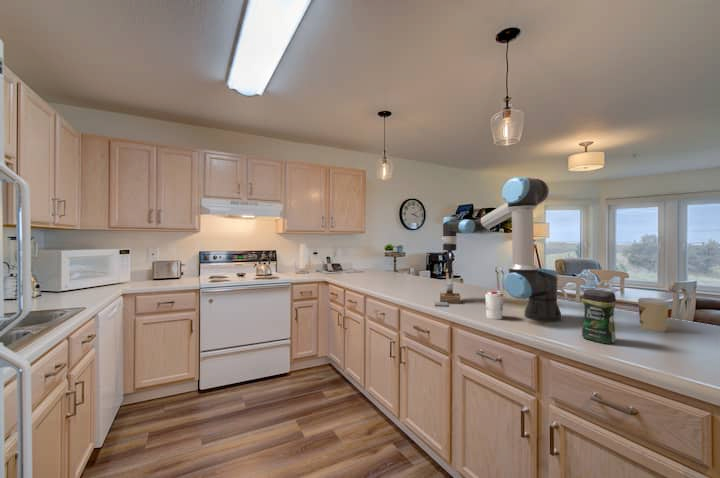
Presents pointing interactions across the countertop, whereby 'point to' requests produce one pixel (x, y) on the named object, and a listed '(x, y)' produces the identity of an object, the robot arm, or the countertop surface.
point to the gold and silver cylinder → (449, 286)
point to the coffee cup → (653, 314)
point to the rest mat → (441, 304)
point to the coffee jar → (599, 316)
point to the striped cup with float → (494, 304)
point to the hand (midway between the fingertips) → (449, 283)
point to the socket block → (450, 298)
